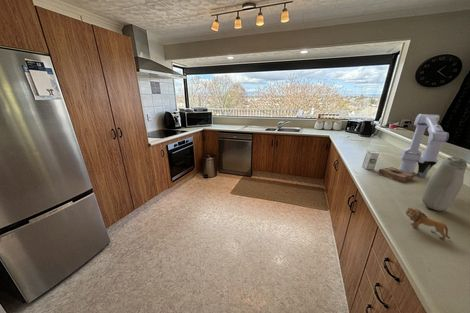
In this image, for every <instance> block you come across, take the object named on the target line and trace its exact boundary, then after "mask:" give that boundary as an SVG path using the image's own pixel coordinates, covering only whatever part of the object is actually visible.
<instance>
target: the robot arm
mask: <svg viewBox="0 0 470 313" xmlns="http://www.w3.org/2000/svg"><path fill="white" fill-rule="evenodd" d="M440 118H441V116H440V115H439V114H424V113H423V114H422V113H419V114H417V116H416V117H415V120H414V122H413V125H414V126H415V130H414V134H413V136H412V140H411V142H410V144H409V147H408V148H404V149H403V150H402V152H401V153H400V160H401V162H400V165H399V167H398V169H399V170H402V171H405V172H408V173H411V174H416V172H415V170H416V168H417V165H418V168H417V169H418V170H417V173H418V172H420V173H423V172H424V171H425V170H426V168H427V167H428V166H429V165H431V166H430V168H429V171H430V170H431V169H432V167H433V166H435V165H437V164H438V162H439V159H438V155H439V153H440V151H441V149H442V147H443V145H444V143H446V142H447V141H448V140H449V137H450V134H449V132H446V131H444V130H443V127H442V126H441V125H440V124H439V123H438V122H439V121H440ZM426 129H427V131H428V139H427V144H426V148H425V149H424V152H423V153H422V151H421V150H419V148H420V145H421V143H422V140H423V137H424V135H425V132H426ZM422 154H423V155H422Z"/></svg>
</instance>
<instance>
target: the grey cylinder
mask: <svg viewBox="0 0 470 313" xmlns="http://www.w3.org/2000/svg"><path fill="white" fill-rule="evenodd" d="M430 166H431V165H429V166H428V167H427V168H426V170H425V171H424V172H423V173H420V172H418V171H417V173H416V175H415V176H416V177H417V178H420V179H426V177H427V175H428V173H429V171H430V170H429V168H430ZM430 169H431V168H430Z"/></svg>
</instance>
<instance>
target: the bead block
mask: <svg viewBox="0 0 470 313" xmlns="http://www.w3.org/2000/svg"><path fill="white" fill-rule="evenodd" d="M378 174H379V175H381V176H383V177H386V178H389V179H391V178H392V179H391V180H394V181H396V180H397V181H396V182H399V183H400V182H406V181H410V180H413V179H414V177H415V173H408V172H405V171H402V170H399V168H396V167H393V166H391V167H390V166H389V167H384V168H379V170H378V173H377V175H378Z"/></svg>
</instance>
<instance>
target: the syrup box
mask: <svg viewBox="0 0 470 313" xmlns="http://www.w3.org/2000/svg"><path fill="white" fill-rule="evenodd" d="M379 155H380V152H379V151H376V150H367V151H366V153H365V155H364V159H363V162H362V166H361V167H362V168H363V169H365V170H371V171H373V170H374V169H375V167H376V164H377V161H378V159H379Z"/></svg>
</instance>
